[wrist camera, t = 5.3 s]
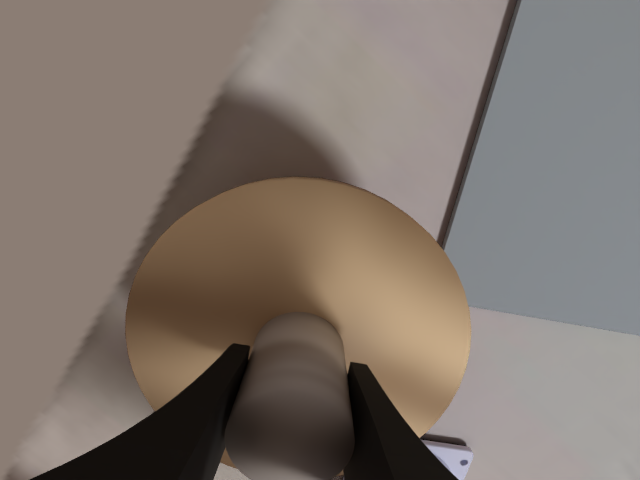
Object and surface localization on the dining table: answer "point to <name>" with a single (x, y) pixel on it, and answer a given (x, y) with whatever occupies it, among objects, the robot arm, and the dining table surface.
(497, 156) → the mat
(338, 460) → the lid
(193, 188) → the dining table surface
